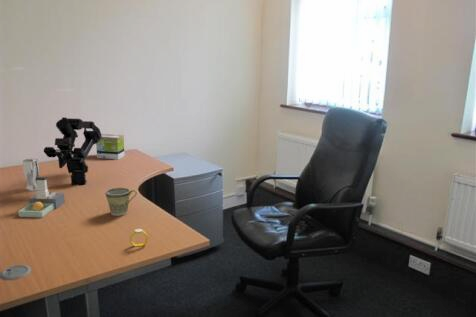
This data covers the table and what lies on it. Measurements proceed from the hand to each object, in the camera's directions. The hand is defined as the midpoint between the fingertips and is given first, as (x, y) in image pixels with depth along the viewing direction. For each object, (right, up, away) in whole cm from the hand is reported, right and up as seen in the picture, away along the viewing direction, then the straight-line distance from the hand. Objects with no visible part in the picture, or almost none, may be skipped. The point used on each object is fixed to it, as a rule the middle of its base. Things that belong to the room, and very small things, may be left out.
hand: (60, 167), depth 201 cm
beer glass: (-18, -11, +12) cm, 24 cm away
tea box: (+1, +5, +77) cm, 77 cm away
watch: (+49, -27, -50) cm, 75 cm away
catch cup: (-2, -19, -20) cm, 27 cm away
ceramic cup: (+35, -19, -19) cm, 44 cm away
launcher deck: (-1, -17, -12) cm, 21 cm away
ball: (-2, -16, -19) cm, 25 cm away
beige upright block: (-1, -13, -15) cm, 20 cm away
